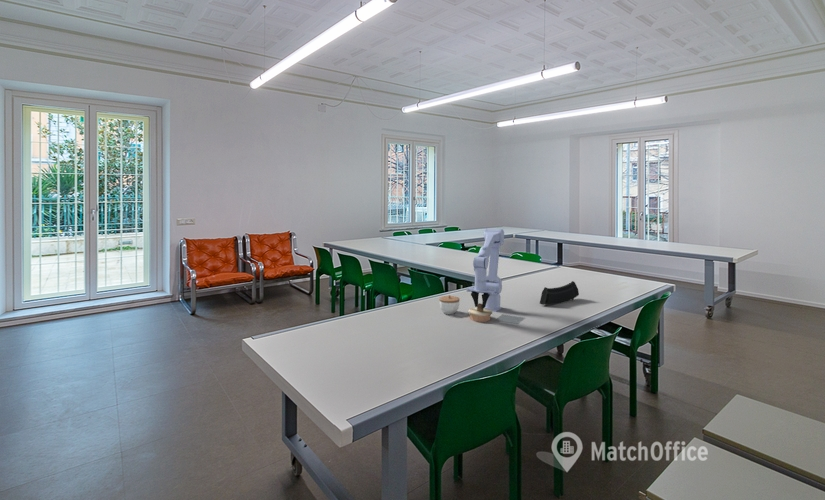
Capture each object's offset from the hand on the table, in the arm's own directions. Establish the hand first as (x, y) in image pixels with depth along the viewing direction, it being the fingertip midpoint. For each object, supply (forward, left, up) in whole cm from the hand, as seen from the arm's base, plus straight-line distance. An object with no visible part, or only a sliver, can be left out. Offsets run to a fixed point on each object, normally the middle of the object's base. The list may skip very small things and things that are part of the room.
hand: (480, 307), depth 215 cm
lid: (0, 0, -3) cm, 3 cm away
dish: (0, 0, -6) cm, 6 cm away
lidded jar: (-3, -19, -7) cm, 20 cm away
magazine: (-55, +26, -7) cm, 61 cm away
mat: (-7, +13, -6) cm, 16 cm away
